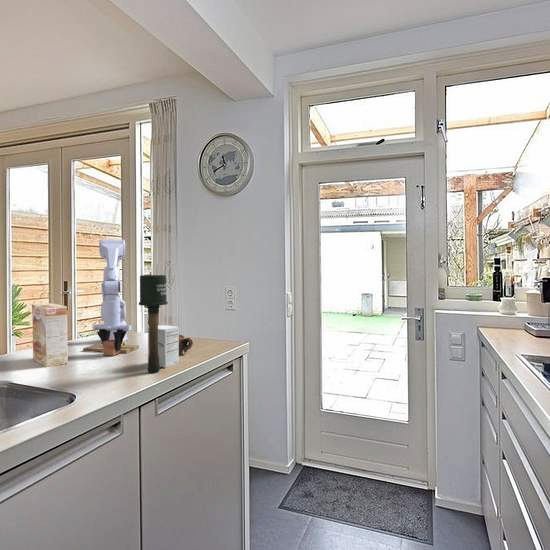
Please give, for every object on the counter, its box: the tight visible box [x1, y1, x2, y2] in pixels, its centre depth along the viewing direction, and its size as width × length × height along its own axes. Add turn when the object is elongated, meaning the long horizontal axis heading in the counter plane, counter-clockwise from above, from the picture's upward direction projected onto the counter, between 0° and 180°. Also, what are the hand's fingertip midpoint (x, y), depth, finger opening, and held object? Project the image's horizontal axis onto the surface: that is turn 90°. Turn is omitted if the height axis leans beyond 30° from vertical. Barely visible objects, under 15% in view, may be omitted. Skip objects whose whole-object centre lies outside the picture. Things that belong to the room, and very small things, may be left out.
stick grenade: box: [138, 274, 168, 374], centre depth 128 cm, size 8×9×30 cm
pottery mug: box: [179, 334, 194, 356], centre depth 154 cm, size 12×10×8 cm
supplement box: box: [147, 324, 180, 369], centre depth 137 cm, size 7×7×13 cm
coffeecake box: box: [31, 302, 69, 368], centre depth 141 cm, size 15×7×20 cm, turn 45°
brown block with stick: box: [102, 339, 127, 357], centre depth 155 cm, size 11×4×5 cm, turn 170°
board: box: [82, 343, 140, 354], centre depth 160 cm, size 9×18×1 cm, turn 80°
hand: (112, 350), depth 152 cm, fingers closed on brown block with stick, 4 cm apart
